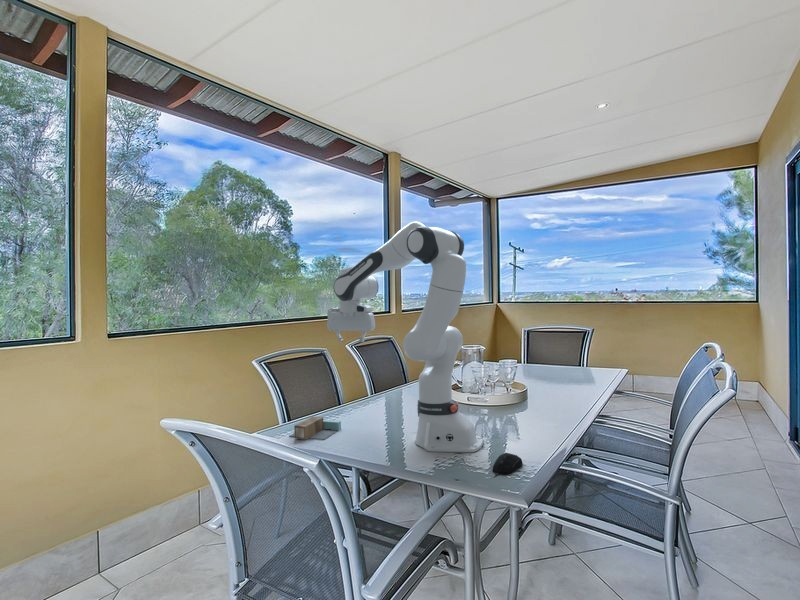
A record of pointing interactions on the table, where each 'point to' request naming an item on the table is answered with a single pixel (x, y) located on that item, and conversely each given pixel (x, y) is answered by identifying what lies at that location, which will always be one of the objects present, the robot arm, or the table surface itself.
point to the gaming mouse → (507, 464)
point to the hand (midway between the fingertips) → (351, 341)
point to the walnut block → (308, 427)
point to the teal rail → (331, 424)
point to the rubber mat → (319, 435)
